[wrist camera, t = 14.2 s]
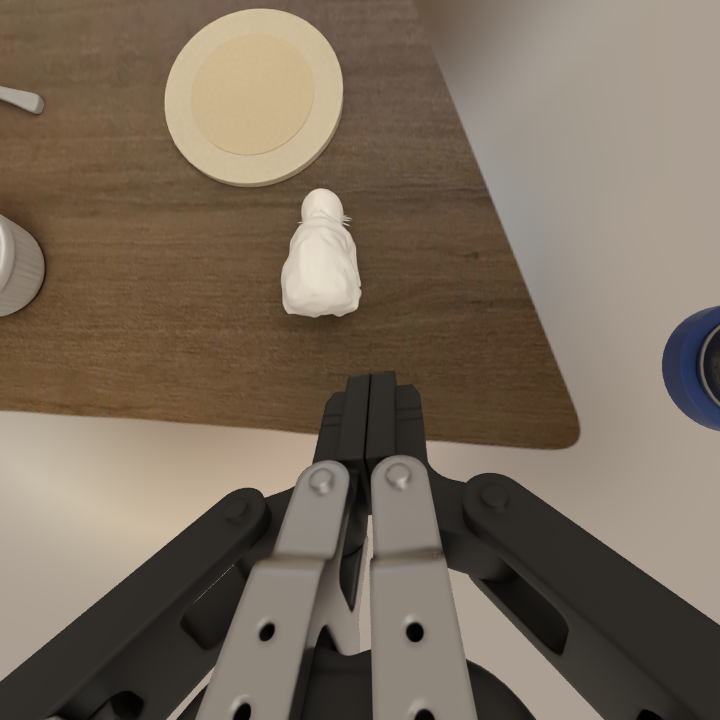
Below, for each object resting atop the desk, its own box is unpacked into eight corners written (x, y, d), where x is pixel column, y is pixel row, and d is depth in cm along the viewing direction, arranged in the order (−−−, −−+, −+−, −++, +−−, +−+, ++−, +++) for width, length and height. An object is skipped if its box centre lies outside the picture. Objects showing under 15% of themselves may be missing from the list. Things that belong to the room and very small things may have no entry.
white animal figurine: (269, 306, 26) (268, 155, 28) (298, 333, 35) (296, 215, 37) (357, 300, 26) (350, 147, 28) (365, 329, 34) (359, 210, 36)
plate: (330, -1, 37) (329, -11, 36) (356, 169, 36) (355, 164, 35) (160, 36, 38) (154, 28, 37) (178, 202, 37) (173, 197, 36)
